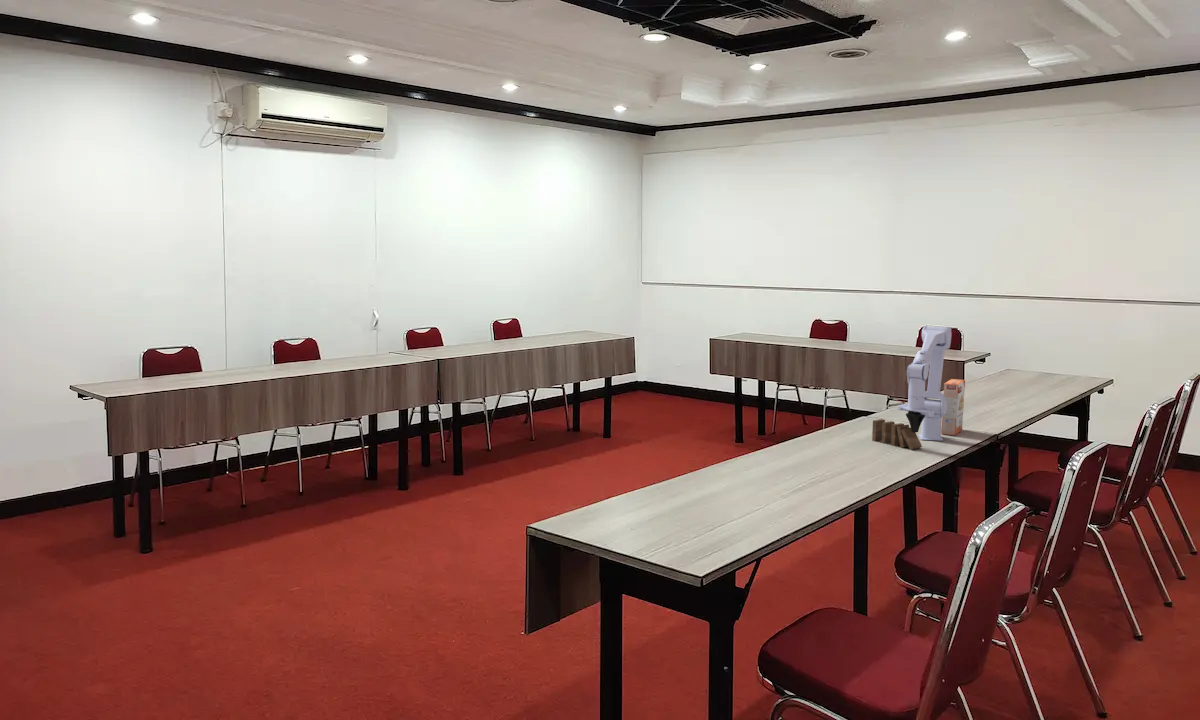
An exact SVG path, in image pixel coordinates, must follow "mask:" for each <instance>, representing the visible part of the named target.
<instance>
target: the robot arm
mask: <svg viewBox="0 0 1200 720" xmlns="http://www.w3.org/2000/svg"><path fill="white" fill-rule="evenodd" d="M952 334H953V333H952V328H950V327H949V326H933V325H932V326H931V325H929V326H928V325H925V326H923V327H922V329H921V340H922V342H923V343H922V347H921V349H920V350H918V351H917V353H916V354H915V356H914V358H913V361H912V362H911V363H910V364H908V366H907V369H906V377H907V378H906V379H907V384H908V389H907V390H908V391H907V392H908V393H907V396H908V397H907V398H908V399H907V404H897V405H898V407H897V410H898V411H904V412H907V413H905V416H906V418H907V420H908V422H909V427H910V428H911V431H912V432H914V433H916V434H917V433H918V437H919V439H920V440H922V441H937V442H938V441H940V442H941V441H944V439H943V436H942V434H941V429H942V417H943V416H944V415H945V414H946V411H947V398H946V396H945V395H944V393H942V392H941V388H942V387H941V385H942V379H943V370H944V369H943V367H944V361H945V355H946V354H945V353H946V350H948V349H950V348H951V343H952ZM927 379H928V380H927ZM926 380H927V388H926ZM920 427H921V431H920V433H919V430H920Z"/></svg>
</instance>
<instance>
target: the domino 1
mask: <svg viewBox="0 0 1200 720" xmlns="http://www.w3.org/2000/svg"><path fill="white" fill-rule="evenodd" d="M883 422H886V419H883V418H880V419H873V420H872V430H871V431H872V432H871V433H872V434H871V438H872V439H871V441H872V442H880V440H881V441H882V423H883Z"/></svg>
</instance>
